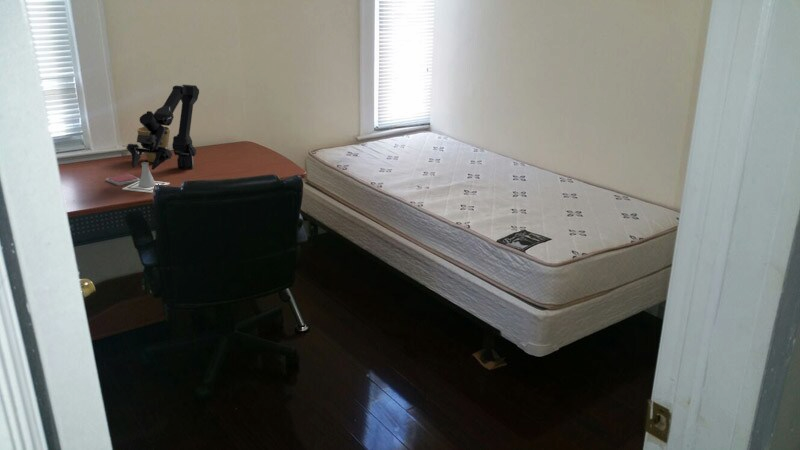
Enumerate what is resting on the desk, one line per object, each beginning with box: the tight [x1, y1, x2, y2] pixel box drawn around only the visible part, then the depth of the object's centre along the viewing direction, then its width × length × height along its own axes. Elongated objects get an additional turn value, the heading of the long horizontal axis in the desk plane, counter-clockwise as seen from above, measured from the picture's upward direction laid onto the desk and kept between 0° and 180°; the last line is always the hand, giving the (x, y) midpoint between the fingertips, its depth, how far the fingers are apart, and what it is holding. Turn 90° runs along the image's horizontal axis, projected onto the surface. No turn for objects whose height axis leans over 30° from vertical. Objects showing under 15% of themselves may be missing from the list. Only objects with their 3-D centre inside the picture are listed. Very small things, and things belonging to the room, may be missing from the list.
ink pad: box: [105, 173, 140, 186], centre depth 282 cm, size 10×10×2 cm
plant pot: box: [136, 125, 171, 163], centre depth 313 cm, size 15×15×16 cm
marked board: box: [121, 180, 171, 194], centre depth 276 cm, size 14×14×1 cm
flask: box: [139, 161, 156, 187], centre depth 275 cm, size 7×7×10 cm
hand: (142, 168), depth 272 cm, fingers open, 9 cm apart
